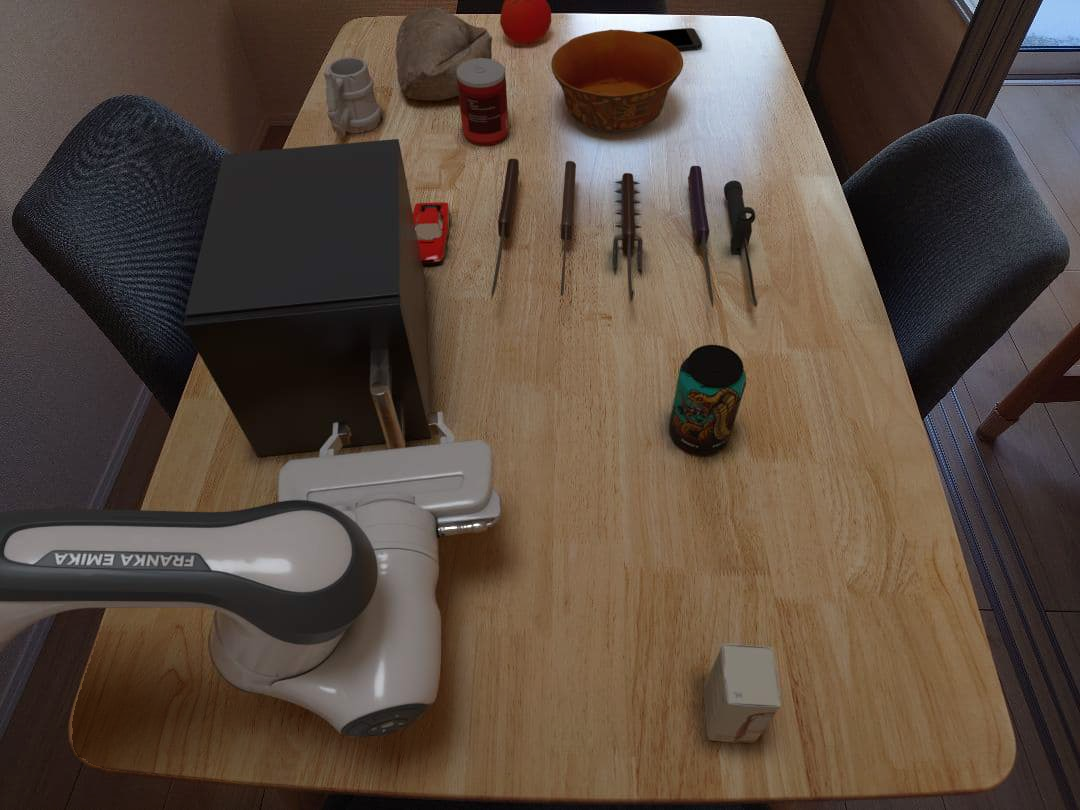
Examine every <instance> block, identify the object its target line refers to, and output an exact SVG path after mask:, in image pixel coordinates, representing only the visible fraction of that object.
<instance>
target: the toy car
mask: <svg viewBox="0 0 1080 810" xmlns="http://www.w3.org/2000/svg"><path fill="white" fill-rule="evenodd" d="M412 212H413V217H414V223H415V228H416V233H417V238H418V244H419V249H420V254H421V260H422V265H423V266H432V265H433V266H434V265H439V264H442V263H443V262H444V259H445V255H447V241H448V237H449V236H448V235H449V229H450V223H451V216H450V208H449V203H448V202H442V201H440V202H439V201H438V202H417V203H414V207H413V210H412Z"/></svg>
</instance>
